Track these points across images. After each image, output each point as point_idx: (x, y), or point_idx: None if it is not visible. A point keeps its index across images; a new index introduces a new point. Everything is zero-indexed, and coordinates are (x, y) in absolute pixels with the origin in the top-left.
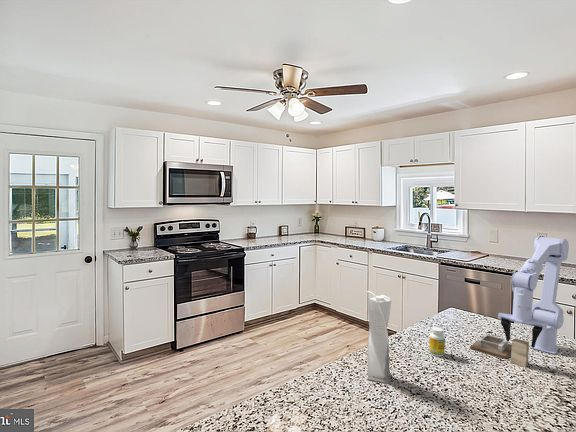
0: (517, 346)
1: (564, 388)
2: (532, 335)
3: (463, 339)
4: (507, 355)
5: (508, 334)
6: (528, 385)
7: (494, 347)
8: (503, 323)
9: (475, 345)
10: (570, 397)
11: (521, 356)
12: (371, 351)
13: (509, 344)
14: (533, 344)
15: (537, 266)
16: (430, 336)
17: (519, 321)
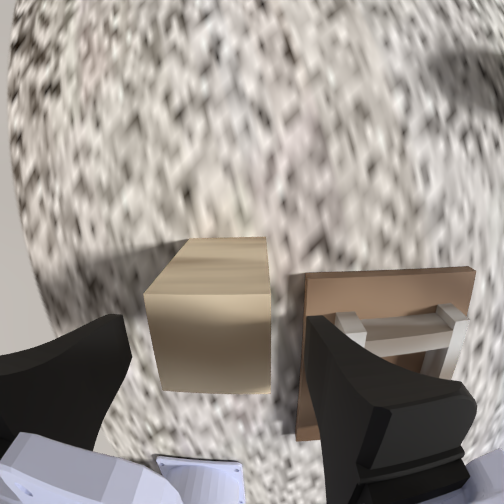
0: (221, 281)
1: (25, 145)
2: (53, 358)
3: (489, 350)
4: (304, 323)
5: (321, 353)
6: (130, 31)
7: (379, 327)
8: (438, 393)
9: (457, 305)
10: (9, 86)
11: (199, 255)
12: None
13: (317, 435)
14: (94, 320)
15: None
16: None
17: (52, 472)
